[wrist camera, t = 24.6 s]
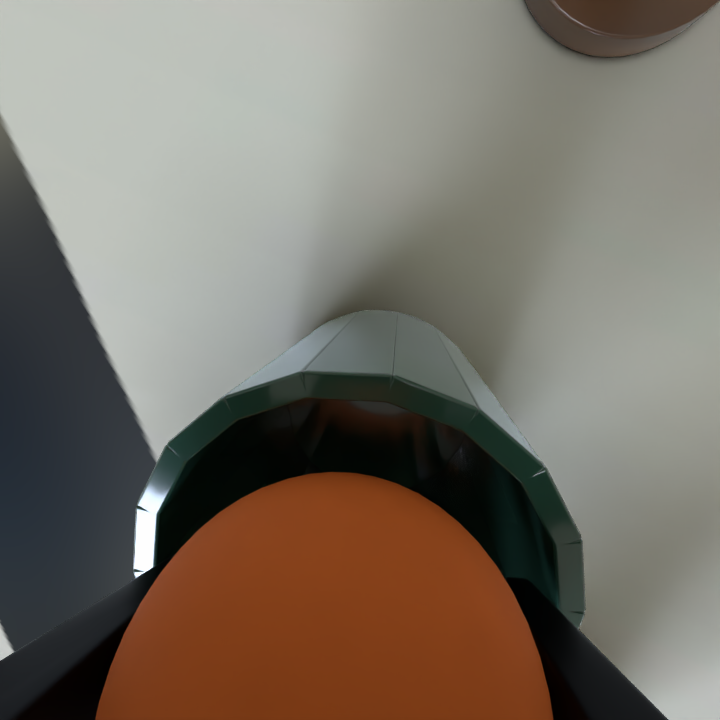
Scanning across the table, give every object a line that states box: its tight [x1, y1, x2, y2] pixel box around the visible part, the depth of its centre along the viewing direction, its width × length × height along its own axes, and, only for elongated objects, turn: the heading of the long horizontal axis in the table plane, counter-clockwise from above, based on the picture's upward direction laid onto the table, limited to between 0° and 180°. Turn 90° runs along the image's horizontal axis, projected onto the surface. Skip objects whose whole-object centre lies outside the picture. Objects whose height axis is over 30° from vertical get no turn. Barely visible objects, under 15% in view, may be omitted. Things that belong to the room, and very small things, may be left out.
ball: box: [95, 472, 553, 720], centre depth 6 cm, size 6×6×6 cm
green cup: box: [133, 310, 586, 629], centre depth 12 cm, size 9×9×10 cm
